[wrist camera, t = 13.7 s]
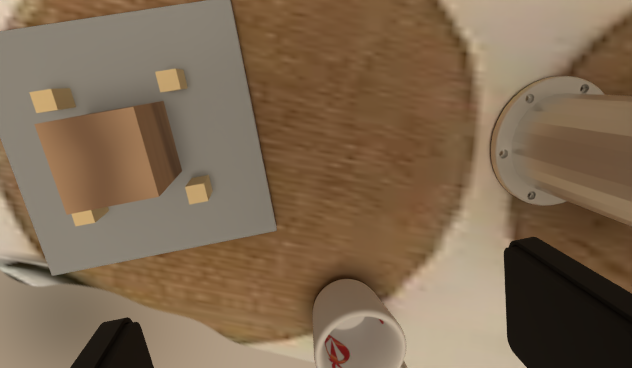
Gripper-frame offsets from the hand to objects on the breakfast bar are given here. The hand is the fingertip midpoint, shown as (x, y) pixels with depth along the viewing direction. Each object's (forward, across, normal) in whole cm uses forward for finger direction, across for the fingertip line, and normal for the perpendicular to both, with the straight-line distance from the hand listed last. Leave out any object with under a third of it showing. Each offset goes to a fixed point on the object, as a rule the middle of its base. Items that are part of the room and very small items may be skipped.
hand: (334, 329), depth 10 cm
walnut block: (+26, +12, -3) cm, 29 cm away
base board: (+27, +12, -3) cm, 30 cm away
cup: (+28, -4, +18) cm, 33 cm away
